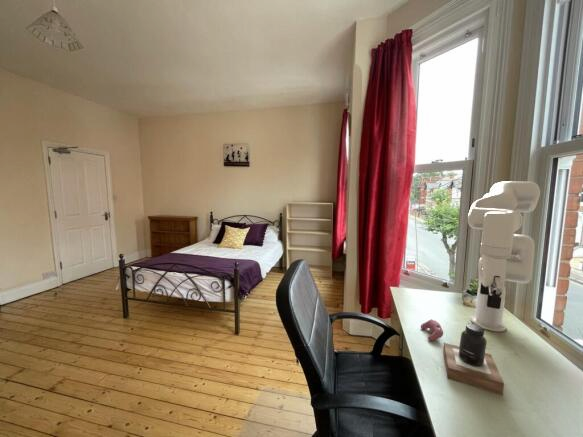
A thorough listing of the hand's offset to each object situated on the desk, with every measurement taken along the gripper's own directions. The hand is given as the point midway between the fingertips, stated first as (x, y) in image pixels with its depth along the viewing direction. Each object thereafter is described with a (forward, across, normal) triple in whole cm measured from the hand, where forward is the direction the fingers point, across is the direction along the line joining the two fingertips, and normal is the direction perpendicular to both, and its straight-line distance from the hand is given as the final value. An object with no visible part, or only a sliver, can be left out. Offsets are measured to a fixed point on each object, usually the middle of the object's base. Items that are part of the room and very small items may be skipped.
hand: (489, 300), depth 79 cm
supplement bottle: (+21, +4, -4) cm, 21 cm away
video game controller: (+26, -13, -14) cm, 32 cm away
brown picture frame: (+25, +4, -4) cm, 25 cm away
